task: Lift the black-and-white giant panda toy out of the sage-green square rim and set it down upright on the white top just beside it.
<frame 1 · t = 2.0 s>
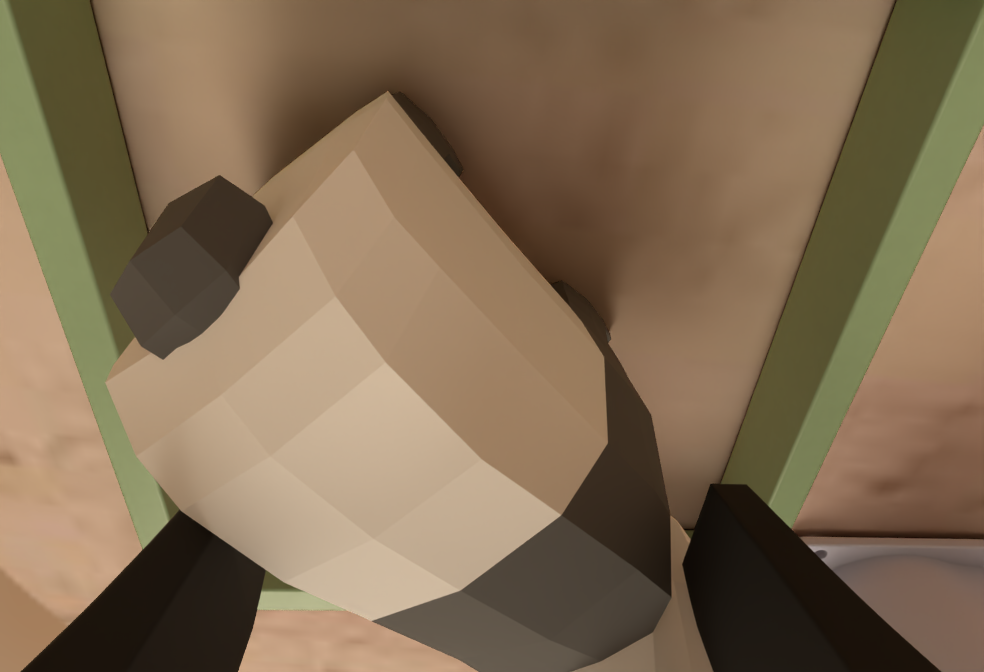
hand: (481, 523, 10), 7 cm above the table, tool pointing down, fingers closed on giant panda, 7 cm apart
giant panda: (479, 311, 16), resting in rim, touching gripper
rim: (481, 317, 16), on the table
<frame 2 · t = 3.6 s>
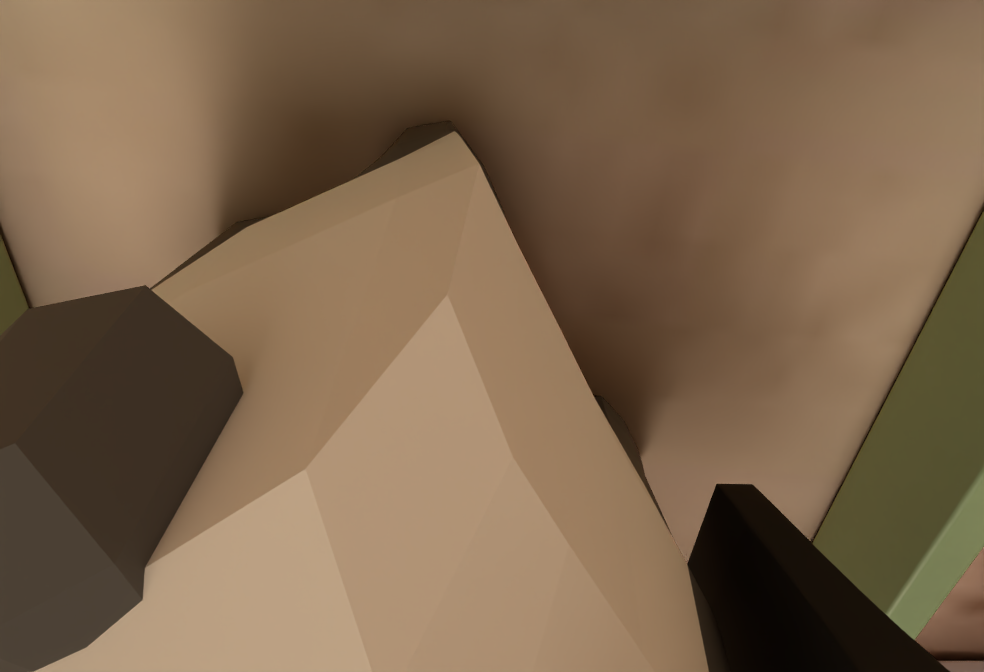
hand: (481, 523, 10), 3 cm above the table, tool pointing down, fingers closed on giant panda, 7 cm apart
giant panda: (484, 412, 12), resting in rim, touching gripper
rim: (486, 426, 12), on the table
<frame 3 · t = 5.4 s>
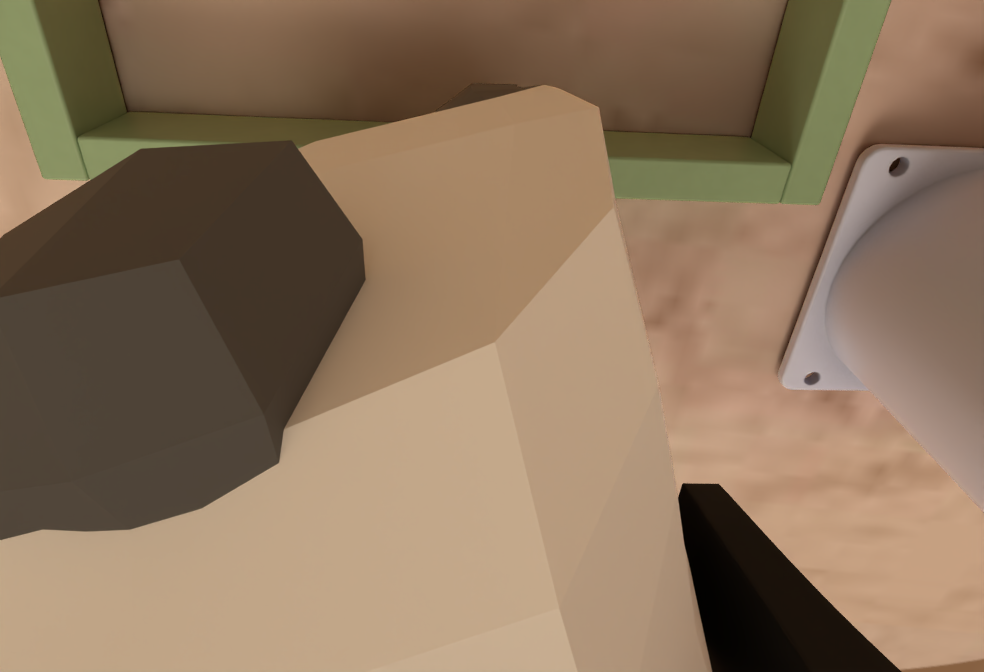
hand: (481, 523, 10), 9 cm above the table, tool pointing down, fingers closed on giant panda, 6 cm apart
giant panda: (481, 391, 12), point 7 cm above the table, touching gripper
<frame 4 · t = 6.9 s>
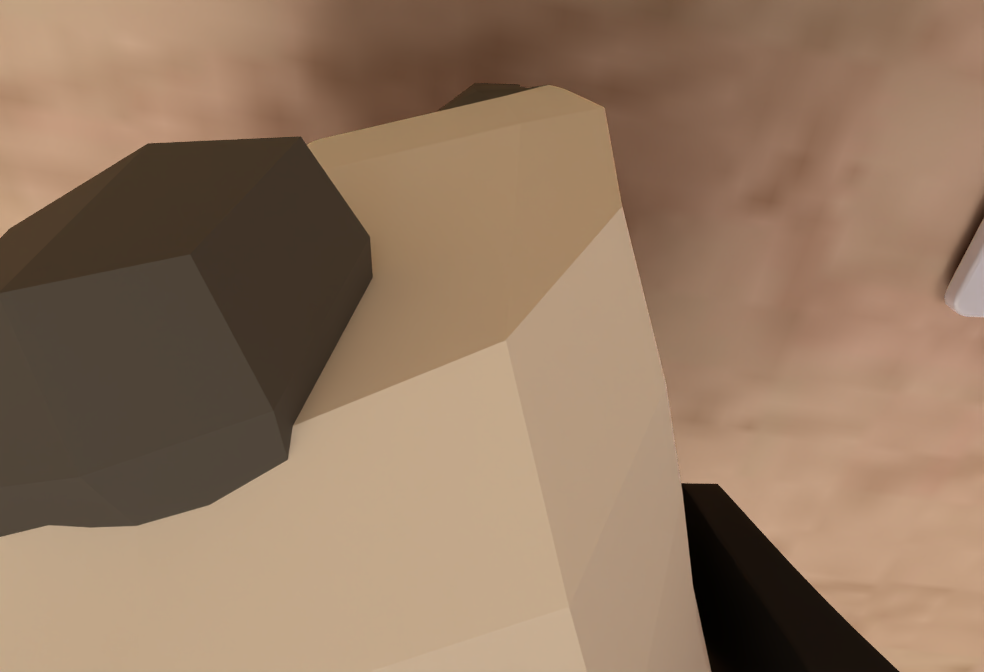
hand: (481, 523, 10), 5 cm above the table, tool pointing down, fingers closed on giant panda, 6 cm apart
giant panda: (480, 391, 12), point 2 cm above the table, touching gripper
when the fingers open (3 cm above the table, at t = 8.1 s): giant panda stays where it is, on the table.
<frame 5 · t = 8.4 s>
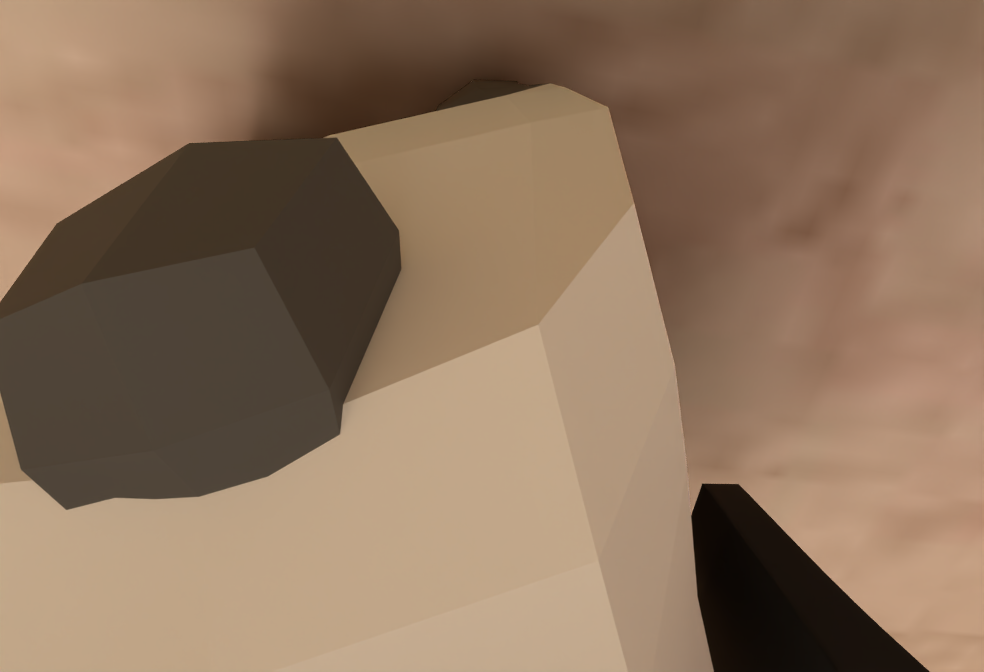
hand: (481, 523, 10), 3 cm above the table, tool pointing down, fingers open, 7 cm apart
giant panda: (477, 381, 12), on the table
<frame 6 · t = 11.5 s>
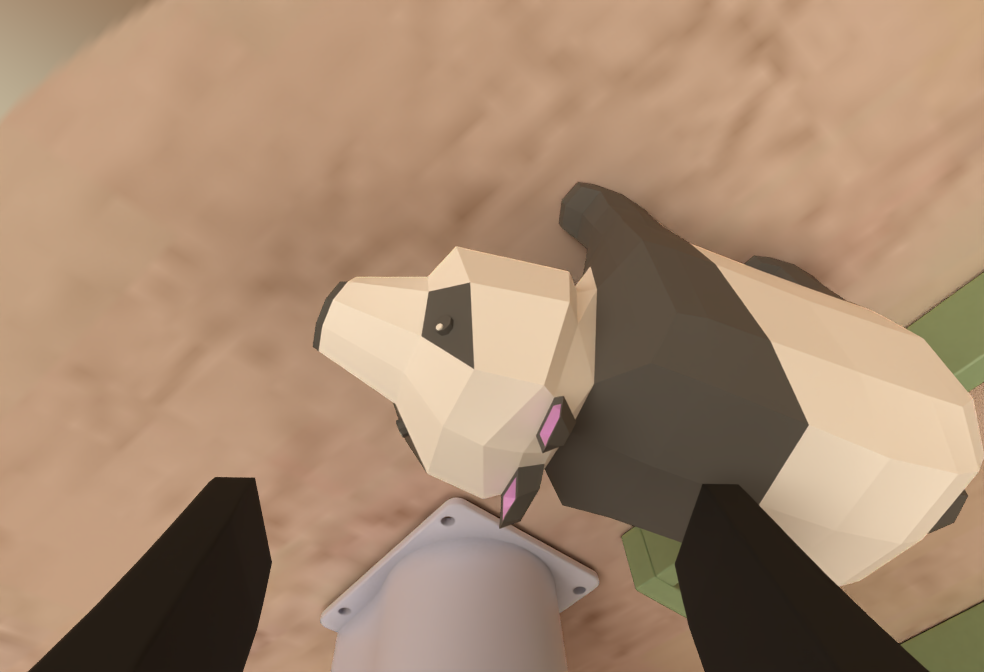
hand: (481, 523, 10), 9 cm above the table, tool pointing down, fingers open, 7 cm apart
giant panda: (622, 279, 19), on the table
rim: (933, 507, 25), on the table
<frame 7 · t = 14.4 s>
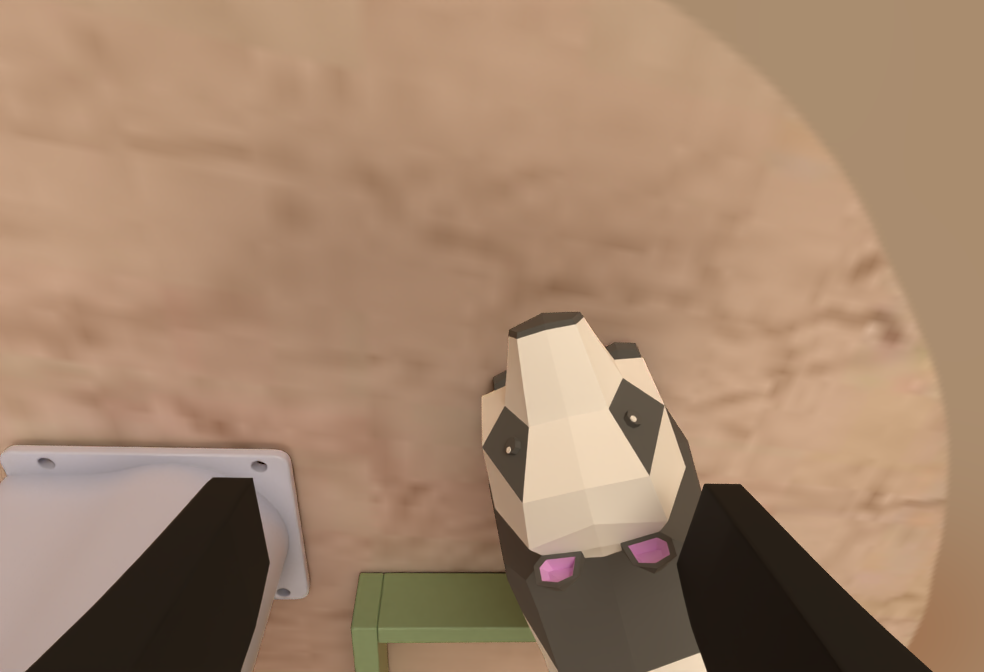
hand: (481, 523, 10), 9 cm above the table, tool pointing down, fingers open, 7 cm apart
giant panda: (578, 418, 21), on the table, touching gripper
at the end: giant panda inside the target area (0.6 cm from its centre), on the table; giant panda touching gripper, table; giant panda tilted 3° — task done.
